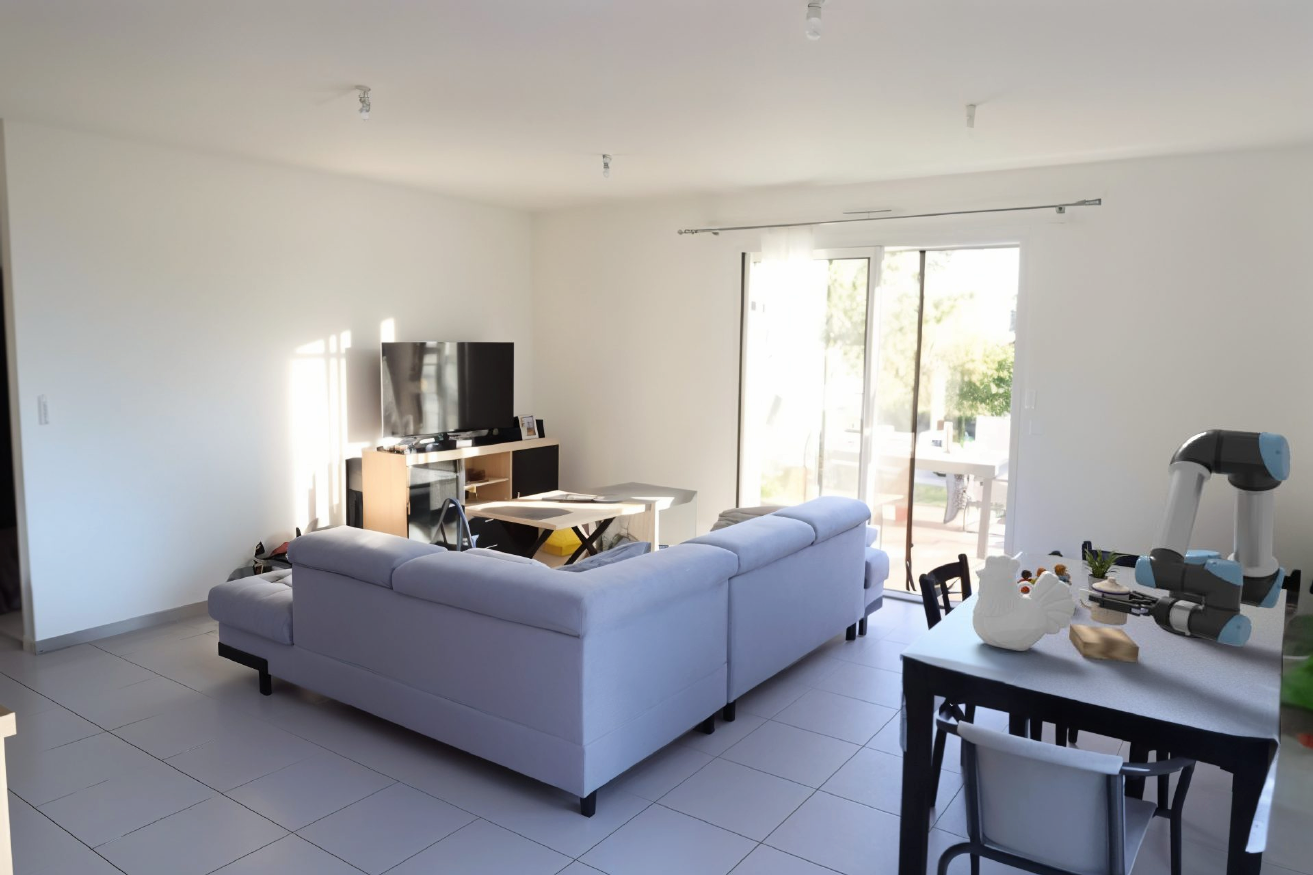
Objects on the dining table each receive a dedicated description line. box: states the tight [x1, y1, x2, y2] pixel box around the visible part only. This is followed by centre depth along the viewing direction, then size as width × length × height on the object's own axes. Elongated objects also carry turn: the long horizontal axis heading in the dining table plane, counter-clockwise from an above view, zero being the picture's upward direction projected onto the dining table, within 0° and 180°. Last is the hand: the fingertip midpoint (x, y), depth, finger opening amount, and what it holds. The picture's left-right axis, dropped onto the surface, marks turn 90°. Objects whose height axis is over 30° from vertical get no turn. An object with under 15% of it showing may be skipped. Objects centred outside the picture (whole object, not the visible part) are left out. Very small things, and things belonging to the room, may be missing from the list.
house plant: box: [1081, 547, 1130, 591], centre depth 282 cm, size 14×14×16 cm
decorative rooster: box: [972, 553, 1077, 652], centre depth 226 cm, size 25×16×25 cm, turn 66°
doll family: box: [1017, 563, 1073, 594], centre depth 268 cm, size 21×10×13 cm, turn 108°
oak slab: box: [1068, 623, 1140, 663], centre depth 228 cm, size 13×15×4 cm
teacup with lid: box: [1078, 576, 1131, 626], centre depth 227 cm, size 12×9×12 cm
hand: (1090, 591), depth 231 cm, fingers closed on teacup with lid, 9 cm apart
